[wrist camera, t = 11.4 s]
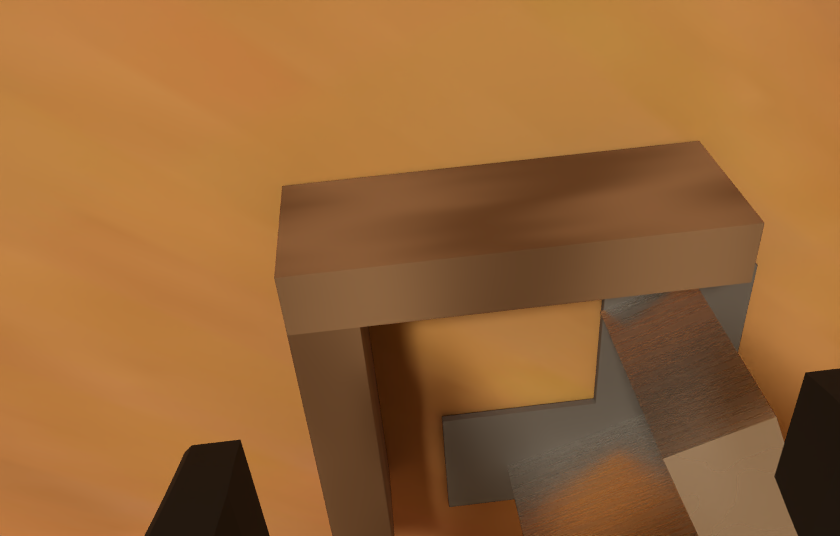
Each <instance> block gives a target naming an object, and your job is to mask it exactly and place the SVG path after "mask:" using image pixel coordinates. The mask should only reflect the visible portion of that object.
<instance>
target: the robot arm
mask: <svg viewBox="0 0 840 536" xmlns="http://www.w3.org/2000/svg"><path fill="white" fill-rule="evenodd" d="M774 477H775V479H776V482H777V485H778V487H779V490H780V492H781V495H782V498H783V500H784V503H785V505H786V508H787V510H788V513H789V516H790V518H791V520H792V523H793V525H794V528H795V530H796V532H797V535H798V536H840V369H832V370H823V371H815V372H807V373H805V376H804V380H803V383H802V386H801V390H800V393H799V396H798V400H797V403H796V406H795V409H794V413H793V416H792V419H791V423H790V426H789V429H788V433H787V436H786V439H785V443H784V446H783V449H782V453H781V456H780V459H779V462H778V466H777V469H776V472H775V476H774ZM145 536H269V532H268V529H267V526H266V522H265V519H264V516H263V513H262V509H261V506H260V503H259V499H258V496H257V493H256V490H255V486H254V483H253V480H252V476H251V473H250V470H249V467H248V463H247V460H246V457H245V453H244V450H243V447H242V443H241V440H234V441H225V442H217V443H208V444H200V445H192V446H191V447H190V448H189V449H188V450H187V451H186V452H185V453H184V455H183V457H182V460H181V462H180V464H179V466H178V468H177V471H176V473H175V475H174V477H173V479H172V481H171V483H170V485H169V488H168V490H167V492H166V494H165V496H164V498H163V500H162V502H161V504H160V506H159V508H158V510H157V512H156V514H155V516H154V518H153V520H152V522H151V524H150V526H149V528H148V530H147V532H146V534H145Z"/></svg>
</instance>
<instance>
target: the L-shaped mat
mask: <svg viewBox="0 0 840 536" xmlns="http://www.w3.org/2000/svg"><path fill="white" fill-rule="evenodd" d="M756 270H757V264H756V263H755V268H754V272H753V277H752V281H751V282H750V283H742V284H733V285H724V286H716V287H707V288H699V290H700V291H701V293H702V295H703V296H704V298H705V300H706V301H707V303H708V305H709V306H710V308H711V310H712V311H713V313H714V314H715V316H716V318H717V319H718V321H719V323H720V324H721V326H722V328H723V329H724V331H725V333H726V334H727V336H728V338H729V339H730V341H731V343H732V344H733V346H734V347H735V349H736V351H737V352H738V349H739V345H740V340H741V336H742V331H743V327H744V322H745V318H746V314H747V309H748V305H749V300H750V296H751V292H752V287H753V283H754V278H755V274H756ZM637 296H639V295H637ZM637 296H628V297H620V298H611V299H602V307H601V311H603V310H606V309H608V308H610V307H613V306H615V305H618V304H620V303H622V302H625V301H627V300H630V299H632V298H635V297H637ZM642 414H644V413H643V411H642V409H641V406H640V404H639V402H638V399H637V397H636V395H635V392H634V390H633V388H632V385H631V383H630V381H629V378H628V376H627V374H626V371H625V369H624V367H623V364H622V362H621V360H620V357H619V355H618V353H617V350H616V348H615V346H614V343H613V341H612V339H611V336H610V334H609V332H608V329H607V327H606V325H605V322H604V320H603V318H602V315H601V319H600V330H599V342H598V354H597V366H596V378H595V389H594V399H586V400H577V401H569V402H560V403H552V404H544V405H535V406H527V407H518V408H510V409H501V410H493V411H485V412H476V413H468V414H459V415H451V416H442V424H443V437H444V450H445V462H446V475H447V488H448V501H449V507H454V506H462V505H470V504H479V503H487V502H495V501H503V500H511V499H515V498H514V493H513V489H512V485H511V480H510V476H509V472H508V467H507V466H509V465H511V464H514V463H517V462H519V461H522V460H524V459H527V458H530V457H532V456H535V455H537V454H540V453H543V452H545V451H548V450H551V449H553V448H556V447H558V446H561V445H564V444H566V443H569V442H571V441H574V440H577V439H579V438H582V437H584V436H587V435H590V434H592V433H595V432H598V431H600V430H603V429H605V428H608V427H611V426H613V425H616V424H618V423H621V422H624V421H626V420H629V419H631V418H634V417H637V416H639V415H642Z"/></svg>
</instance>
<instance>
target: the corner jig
mask: <svg viewBox="0 0 840 536" xmlns="http://www.w3.org/2000/svg"><path fill="white" fill-rule="evenodd" d="M763 228H764V222H763V220H762V219H761V218H760V217H759V215H758V214H757V213H756V212H755V210H754V209H753V208H752V207H751V205H750V204H749V203H748V202H747V200H746V199H745V198H744V197H743V195H742V194H741V193H740V192H739V190H738V189H737V188H736V187H735V185H734V184H733V183H732V182H731V180H730V179H729V178H728V177H727V175H726V174H725V173H724V172H723V170H722V169H721V168H720V167H719V165H718V164H717V163H716V161H715V160H714V159H713V158H712V156H711V155H710V154H709V153H708V151H707V150H706V149H705V148H704V146H703V145H702V144H701V143H700V141H694V142H685V143H676V144H667V145H658V146H648V147H639V148H630V149H621V150H611V151H602V152H593V153H584V154H575V155H565V156H556V157H547V158H538V159H528V160H519V161H510V162H501V163H492V164H482V165H473V166H464V167H455V168H445V169H436V170H427V171H418V172H409V173H399V174H390V175H381V176H372V177H362V178H353V179H344V180H335V181H326V182H316V183H307V184H298V185H289V186H282V195H281V206H280V218H279V230H278V241H277V253H276V265H275V276H274V279H275V283H276V288H277V292H278V296H279V301H280V305H281V310H282V314H283V319H284V323H285V327H286V332H287V336H288V341H289V345H290V350H291V354H292V359H293V363H294V367H295V372H296V376H297V381H298V385H299V390H300V394H301V398H302V403H303V407H304V412H305V416H306V421H307V425H308V429H309V434H310V438H311V443H312V447H313V452H314V456H315V461H316V465H317V469H318V474H319V478H320V483H321V487H322V492H323V496H324V500H325V505H326V509H327V514H328V518H329V523H330V527H331V531H332V536H394V524H393V511H392V498H391V486H390V473H389V466H388V459H387V452H386V445H385V438H384V431H383V424H382V417H381V410H380V403H379V397H378V390H377V383H376V376H375V369H374V362H373V355H372V348H371V341H370V334H369V327H368V326H375V325H384V324H393V323H401V322H410V321H419V320H428V319H436V318H445V317H454V316H462V315H471V314H480V313H489V312H497V311H506V310H515V309H524V308H532V307H541V306H550V305H558V304H567V303H576V302H585V301H593V300H602V299H611V298H620V297H628V296H637V295H646V294H654V293H663V292H672V291H681V290H689V289H698V288H707V287H716V286H724V285H733V284H742V283H750V282H751V281H752V277H753V272H754V268H755V263H756V259H757V254H758V250H759V245H760V241H761V236H762V232H763Z"/></svg>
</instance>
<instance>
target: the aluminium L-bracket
mask: <svg viewBox="0 0 840 536" xmlns="http://www.w3.org/2000/svg"><path fill="white" fill-rule="evenodd" d="M600 313H601V315H602V318H603V320H604V322H605V325H606V327H607V329H608V332H609V334H610V336H611V339H612V341H613V343H614V346H615V348H616V350H617V353H618V355H619V357H620V360H621V362H622V364H623V367H624V369H625V371H626V374H627V376H628V378H629V381H630V383H631V385H632V388H633V390H634V392H635V395H636V397H637V399H638V402H639V404H640V406H641V409H642V411H643V413H644V414H642V415H639V416H637V417H634V418H631V419H629V420H626V421H624V422H621V423H618V424H616V425H613V426H611V427H608V428H605V429H603V430H600V431H598V432H595V433H592V434H590V435H587V436H584V437H582V438H579V439H577V440H574V441H571V442H569V443H566V444H564V445H561V446H558V447H556V448H553V449H551V450H548V451H545V452H543V453H540V454H537V455H535V456H532V457H530V458H527V459H524V460H522V461H519V462H517V463H514V464H511V465H509V466H507V467H508V472H509V476H510V480H511V485H512V489H513V493H514V498H515V502H516V507H517V511H518V515H519V520H520V524H521V528H522V533H523V536H798V535H797V532H796V530H795V528H794V525H793V523H792V520H791V518H790V516H789V513H788V510H787V508H786V505H785V503H784V500H783V498H782V495H781V492H780V490H779V487H778V485H777V482H776V479H775V477H774V476H775V472H776V469H777V466H778V462H779V459H780V456H781V453H782V449H783V446H784V440H783V437H782V434H781V430H780V427H779V424H778V420H777V417H776V415H775V414H774V412H773V410H772V409H771V407H770V405H769V404H768V402H767V400H766V399H765V397H764V395H763V394H762V392H761V390H760V389H759V387H758V385H757V384H756V382H755V381H754V379H753V377H752V376H751V374H750V372H749V371H748V369H747V367H746V366H745V364H744V362H743V361H742V359H741V357H740V356H739V354H738V352H737V351H736V349H735V347H734V346H733V344H732V343H731V341H730V339H729V338H728V336H727V334H726V333H725V331H724V329H723V328H722V326H721V324H720V323H719V321H718V319H717V318H716V316H715V314H714V313H713V311H712V310H711V308H710V306H709V305H708V303H707V301H706V300H705V298H704V296H703V295H702V293H701V291H700V290H699V288H698V289H689V290H681V291H672V292H663V293H654V294H646V295H639V296H637V297H635V298H632V299H630V300H627V301H625V302H622V303H620V304H618V305H615V306H613V307H610V308H608V309H606V310H603V311H601V312H600Z"/></svg>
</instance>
